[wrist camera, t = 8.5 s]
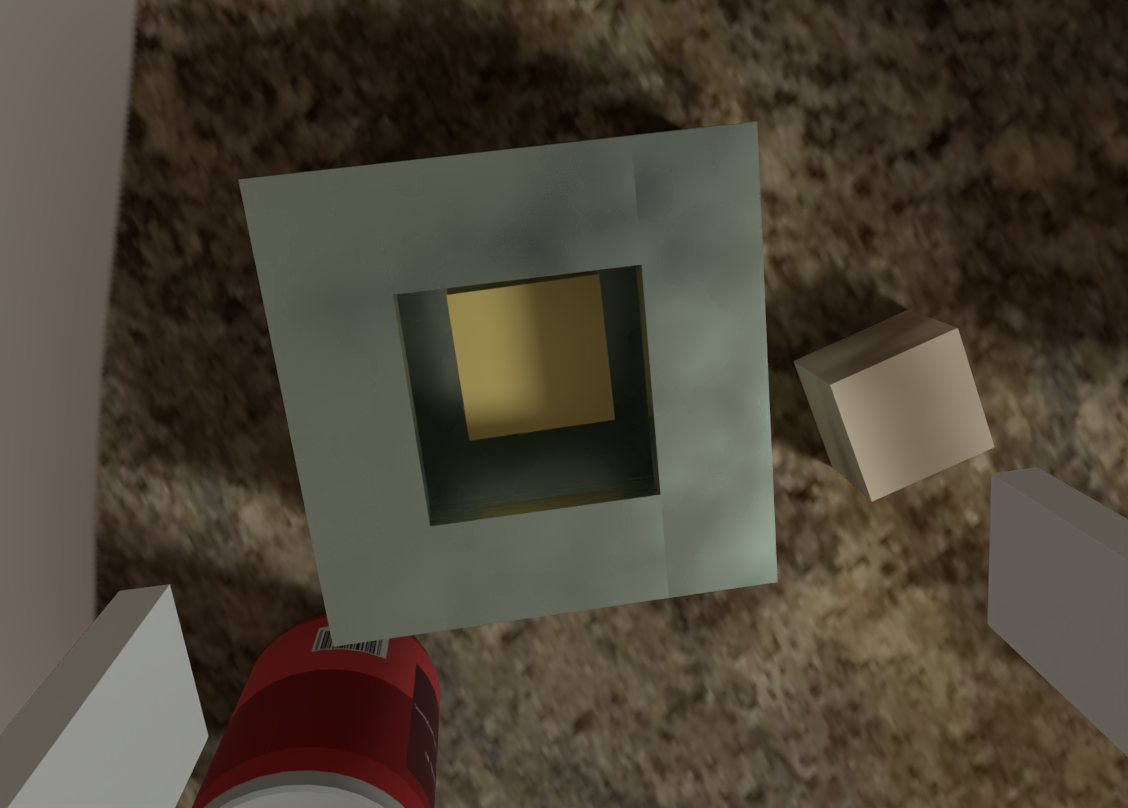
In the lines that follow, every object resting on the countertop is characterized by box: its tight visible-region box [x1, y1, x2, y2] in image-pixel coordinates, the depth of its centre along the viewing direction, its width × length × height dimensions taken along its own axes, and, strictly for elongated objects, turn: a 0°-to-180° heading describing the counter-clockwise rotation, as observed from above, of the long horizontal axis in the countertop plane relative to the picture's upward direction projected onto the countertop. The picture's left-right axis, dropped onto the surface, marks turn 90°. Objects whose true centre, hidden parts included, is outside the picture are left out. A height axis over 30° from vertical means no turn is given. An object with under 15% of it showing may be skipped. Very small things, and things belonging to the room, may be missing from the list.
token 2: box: [794, 310, 994, 501], centre depth 35 cm, size 5×5×4 cm
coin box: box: [239, 122, 777, 647], centre depth 30 cm, size 14×14×9 cm
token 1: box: [446, 270, 615, 441], centre depth 32 cm, size 5×5×4 cm
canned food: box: [192, 614, 440, 808], centre depth 33 cm, size 8×8×11 cm
